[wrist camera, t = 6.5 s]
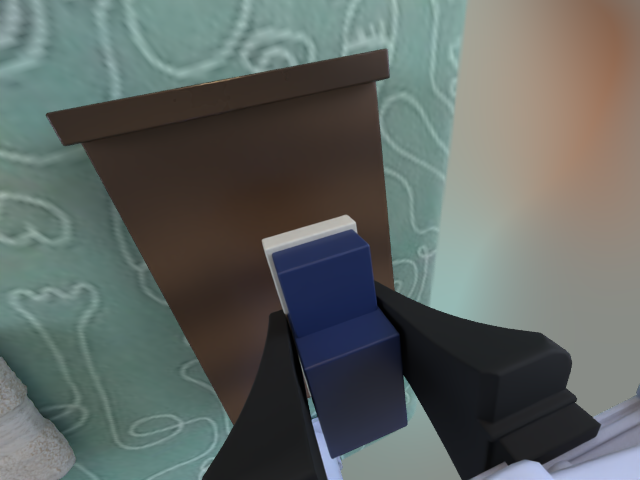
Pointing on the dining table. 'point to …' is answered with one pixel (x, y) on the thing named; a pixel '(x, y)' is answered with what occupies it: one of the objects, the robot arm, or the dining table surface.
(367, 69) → the shoe shelf
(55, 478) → the washcloth
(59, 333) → the dining table surface
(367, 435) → the trainer
